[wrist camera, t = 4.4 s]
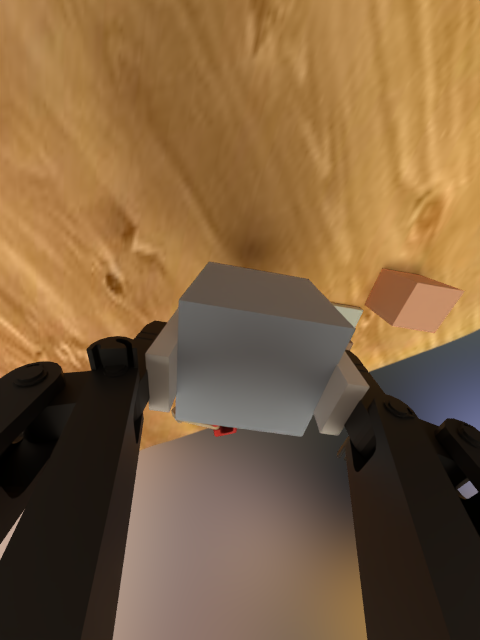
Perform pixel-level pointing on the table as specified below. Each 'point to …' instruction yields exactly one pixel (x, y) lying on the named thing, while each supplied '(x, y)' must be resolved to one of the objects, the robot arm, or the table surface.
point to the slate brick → (255, 349)
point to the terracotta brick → (412, 300)
